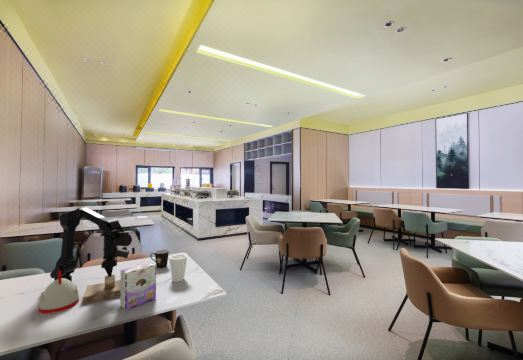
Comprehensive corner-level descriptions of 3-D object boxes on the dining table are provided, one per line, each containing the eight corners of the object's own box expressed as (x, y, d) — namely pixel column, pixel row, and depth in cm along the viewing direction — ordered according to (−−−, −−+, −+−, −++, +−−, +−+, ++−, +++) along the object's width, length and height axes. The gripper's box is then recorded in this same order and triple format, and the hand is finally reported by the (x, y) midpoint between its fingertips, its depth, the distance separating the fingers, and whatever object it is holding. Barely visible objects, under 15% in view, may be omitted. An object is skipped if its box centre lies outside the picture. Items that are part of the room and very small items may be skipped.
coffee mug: (171, 266, 158) (171, 251, 158) (159, 270, 151) (160, 254, 151) (160, 262, 164) (160, 248, 164) (148, 266, 157) (149, 251, 157)
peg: (114, 293, 119) (115, 276, 119) (104, 295, 117) (104, 278, 117) (115, 289, 123) (115, 273, 123) (104, 291, 120) (104, 275, 121)
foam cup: (165, 282, 133) (165, 258, 133) (175, 275, 142) (175, 253, 142) (180, 283, 130) (181, 260, 131) (189, 277, 139) (189, 255, 140)
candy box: (150, 295, 117) (150, 261, 117) (156, 298, 113) (156, 264, 114) (119, 306, 107) (120, 269, 107) (125, 310, 103) (125, 272, 103)
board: (83, 303, 108) (83, 297, 109) (87, 291, 121) (87, 285, 121) (123, 295, 117) (123, 289, 117) (123, 284, 129) (123, 279, 129)
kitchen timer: (77, 295, 117) (78, 264, 117) (80, 306, 107) (80, 272, 107) (39, 304, 108) (39, 271, 108) (37, 317, 98) (38, 280, 98)
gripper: (128, 247, 116) (128, 279, 116) (128, 239, 132) (128, 267, 132) (101, 250, 110) (101, 284, 110) (104, 241, 126) (104, 271, 126)
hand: (109, 276), depth 120 cm, fingers closed
